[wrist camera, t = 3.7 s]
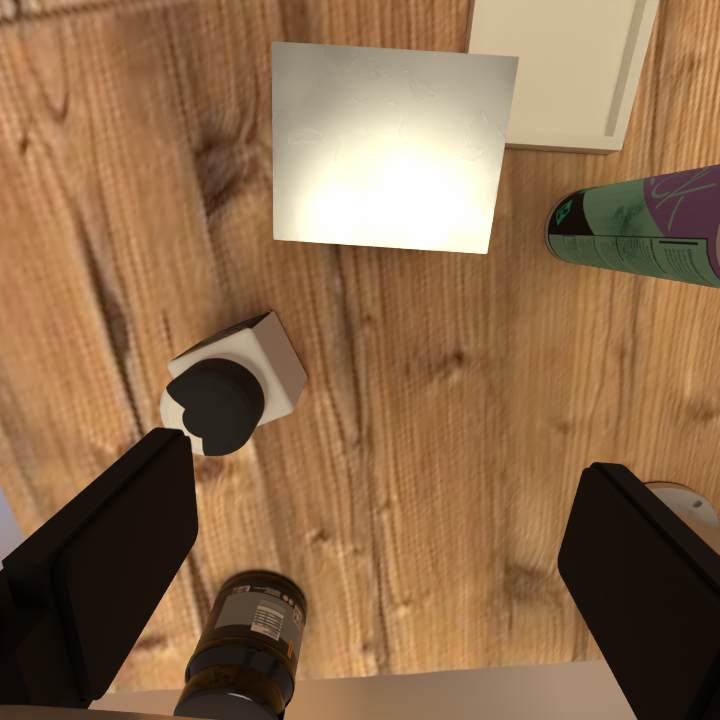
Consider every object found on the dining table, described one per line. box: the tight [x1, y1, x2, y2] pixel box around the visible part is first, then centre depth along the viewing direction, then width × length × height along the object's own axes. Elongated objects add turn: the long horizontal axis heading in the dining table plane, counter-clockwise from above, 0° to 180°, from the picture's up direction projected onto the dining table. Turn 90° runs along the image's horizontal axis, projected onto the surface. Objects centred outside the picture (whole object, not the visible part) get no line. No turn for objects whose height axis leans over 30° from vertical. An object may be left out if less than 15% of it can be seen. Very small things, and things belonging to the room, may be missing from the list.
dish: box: [464, 0, 659, 155], centre depth 26 cm, size 12×12×2 cm
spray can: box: [544, 164, 720, 288], centre depth 21 cm, size 6×6×20 cm
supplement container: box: [173, 573, 306, 720], centre depth 39 cm, size 10×10×12 cm
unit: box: [272, 41, 519, 254], centre depth 22 cm, size 9×7×17 cm
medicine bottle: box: [160, 310, 307, 456], centre depth 30 cm, size 7×7×12 cm
